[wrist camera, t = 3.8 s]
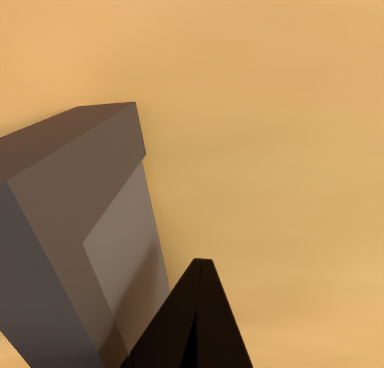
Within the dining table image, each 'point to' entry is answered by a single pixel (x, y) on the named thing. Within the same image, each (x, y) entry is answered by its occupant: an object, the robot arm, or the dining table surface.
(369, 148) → the dining table surface
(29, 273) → the grey long flat bar
